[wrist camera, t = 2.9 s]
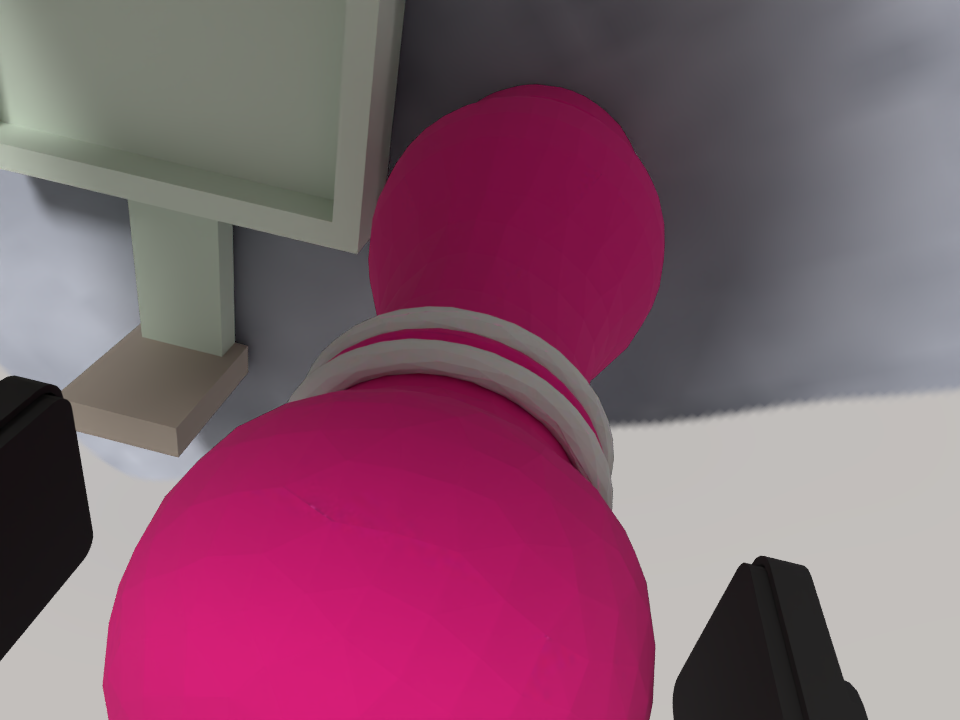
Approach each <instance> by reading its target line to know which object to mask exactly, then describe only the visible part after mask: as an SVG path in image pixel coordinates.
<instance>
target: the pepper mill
mask: <svg viewBox="0 0 960 720" xmlns="http://www.w3.org/2000/svg"><path fill="white" fill-rule="evenodd" d="M664 248H665V236H664V220H663V215H662V210H661V206H660V201H659V197H658V194H657V192H656V189H655V187H654V184H653V182H652V180H651V178H650V176H649V174H648V172H647V170H646V169H645V167H644V166H643V164H642V162H641V161H640V159H639V158H638V156H637V155H636V154H635V152H634V150H633V147H632V145H631V143H630V141H629V140H628V138H627V136H626V135H625V133H624V131H623V130H622V128H621V126H620V125H619V124H618V123H617V122H616V121H615V120H614V119H613V118H612V117H611V116H610V115H609V114H608V113H607V112H606V111H605V110H604V109H602V108H601V107H600V106H599V105H597V104H596V103H594V102H593V101H591V100H590V99H588V98H587V97H585V96H583V95H581V94H578V93H576V92H574V91H571V90H568V89H564V88H561V87H554V86H546V85H539V84H533V85H521V86H515V87H512V88H508V89H504V90H501V91H498V92H495V93H492V94H490V95H488V96H486V97H485V98H483V99H481V100H480V101H478V102H476V103H473V104H469V105H466V106H464V107H462V108H460V109H458V110H456V111H453V112H451V113H449V114H447V115H445V116H443V117H442V118H440V119H439V120H437V121H436V122H435V123H433V124H432V125H430V126H429V127H427V128H426V129H425V130H424V131H423V132H422V133H421V134H420V135H419V136H418V137H417V138H416V139H415V140H414V141H413V142H412V143H411V144H410V145H409V146H408V147H407V149H406V150H405V152H404V153H403V154H402V156H401V157H400V159H399V160H398V162H397V163H396V165H395V166H394V168H393V170H392V172H391V174H390V176H389V178H388V180H387V182H386V184H385V186H384V188H383V190H382V192H381V194H380V196H379V198H378V201H377V205H376V208H375V212H374V215H373V219H372V227H371V237H370V247H369V258H368V261H369V278H370V284H371V289H372V293H373V298H374V303H375V308H376V314H377V316H376V317H373V318H371V319H368V320H366V321H364V322H361V323H359V324H357V325H355V326H354V327H352V328H351V329H349V330H348V331H346V332H345V333H344V334H342V335H341V336H339V337H338V338H337V339H336V340H334V341H333V342H332V343H331V344H330V345H329V346H328V347H327V348H325V349H324V350H323V351H322V353H321V354H320V355H319V357H318V358H317V359H316V361H315V362H314V363H313V365H312V367H311V369H310V370H309V372H308V374H307V376H306V378H305V380H304V381H303V382H302V383H301V384H300V386H299V387H298V388H297V389H296V390H295V391H294V393H293V394H292V396H291V397H290V399H289V401H288V403H286V404H284V405H282V406H280V407H278V408H276V409H274V410H272V411H270V412H267V413H265V414H263V415H261V416H259V417H257V418H255V419H253V420H251V421H249V422H247V423H245V424H242V425H240V426H238V427H237V428H235V429H234V430H233V431H232V432H231V433H230V434H229V435H227V436H226V437H225V438H224V439H223V440H222V441H220V442H219V443H218V444H217V445H216V446H215V447H213V448H212V449H211V450H210V451H209V452H208V453H207V454H205V455H204V456H203V457H202V458H201V459H200V460H198V462H197V463H196V464H195V465H194V466H193V467H192V468H191V469H190V470H189V471H188V472H187V473H186V475H185V476H184V477H183V478H182V479H181V480H180V481H179V482H178V483H177V484H176V485H175V486H174V488H173V489H172V490H171V491H170V492H169V493H168V494H167V495H166V496H165V498H164V499H163V501H162V503H161V504H160V506H159V508H158V510H157V512H156V513H155V515H154V517H153V518H152V520H151V522H150V524H149V525H148V527H147V529H146V531H145V532H144V534H143V536H142V537H141V539H140V541H139V543H138V544H137V546H136V548H135V550H134V552H133V554H132V557H131V559H130V562H129V564H128V566H127V568H126V570H125V573H124V575H123V577H122V579H121V582H120V584H119V587H118V591H117V595H116V598H115V602H114V606H113V610H112V613H111V617H110V622H109V627H108V638H107V648H106V658H105V667H104V677H103V691H104V696H105V702H106V706H107V713H108V718H109V720H649V719H650V714H651V709H652V703H653V686H654V665H655V640H654V633H653V626H652V619H651V612H650V604H649V597H648V590H647V583H646V580H645V577H644V575H643V572H642V569H641V567H640V564H639V562H638V559H637V557H636V554H635V551H634V549H633V547H632V545H631V542H630V540H629V538H628V536H627V534H626V531H625V530H624V528H623V527H622V525H621V524H620V522H619V521H618V520H617V518H616V516H615V515H614V514H613V512H612V497H613V489H612V483H611V474H612V468H613V461H614V454H613V438H612V434H611V429H610V425H609V421H608V418H607V416H606V414H605V412H604V409H603V407H602V405H601V403H600V400H599V398H598V396H597V395H596V393H595V392H594V390H593V389H592V388H591V386H590V381H591V380H592V379H593V378H595V377H596V376H597V375H598V374H599V373H600V372H601V371H602V370H603V369H605V368H606V367H607V366H608V365H609V364H610V363H611V362H612V361H613V360H614V359H615V358H617V357H618V356H619V355H620V354H621V353H622V352H623V351H624V350H625V349H626V348H627V347H628V346H629V344H630V343H631V341H632V340H633V338H634V336H635V335H636V333H637V332H638V330H639V329H640V327H641V326H642V324H643V322H644V321H645V319H646V317H647V315H648V314H649V312H650V310H651V308H652V306H653V303H654V301H655V298H656V295H657V292H658V289H659V286H660V280H661V274H662V267H663V261H664Z"/></svg>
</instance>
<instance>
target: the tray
mask: <svg viewBox="0 0 960 720" xmlns="http://www.w3.org/2000/svg"><path fill="white" fill-rule="evenodd" d="M405 1H406V0H0V169H3V170H8V171H12V172H16V173H20V174H24V175H28V176H33V177H37V178H41V179H45V180H49V181H53V182H58V183H62V184H66V185H70V186H74V187H78V188H83V189H87V190H91V191H95V192H99V193H104V194H108V195H112V196H116V197H120V198H124V199H128V209H129V218H130V227H131V237H132V246H133V256H134V265H135V274H136V284H137V293H138V303H139V312H140V322H141V324H140V325H138V326H137V327H136V328H135V329H134V330H132V331H131V332H130V333H129V334H128V335H127V336H125V337H124V338H123V339H122V340H121V341H120V342H118V343H117V344H116V345H115V346H114V347H112V348H111V349H110V350H109V351H108V352H107V353H105V354H104V355H103V356H102V357H101V358H99V359H98V360H97V361H96V362H95V363H94V364H92V365H91V366H90V367H89V368H88V369H87V370H85V371H84V372H83V373H82V374H81V375H79V376H78V377H77V378H76V379H75V380H74V381H72V382H71V383H70V384H69V385H68V386H67V387H65V388H64V389H63V390H62V391H61V392H62V395H63V398H64V399H67V400H68V401H69V402H70V403H71V406H72V410H73V416H74V422H75V428H76V431H78V432H82V433H86V434H90V435H94V436H98V437H101V438H105V439H109V440H113V441H117V442H121V443H125V444H129V445H132V446H136V447H140V448H144V449H148V450H152V451H156V452H160V453H164V454H167V455H171V456H175V457H179V456H180V455H181V454H182V452H183V451H184V450H185V449H186V448H187V446H188V445H189V444H190V443H191V441H192V440H193V439H194V438H195V437H196V435H197V434H198V433H199V432H200V431H201V429H202V428H203V427H204V426H205V424H206V423H207V422H208V421H209V420H210V418H211V417H212V416H213V415H214V413H215V412H216V411H217V410H218V409H219V407H220V406H221V405H222V404H223V402H224V401H225V400H226V399H227V398H228V396H229V395H230V394H231V393H232V391H233V390H234V389H235V388H236V387H237V385H238V384H239V383H240V382H241V381H242V379H243V378H244V377H245V376H246V374H247V373H248V346H247V345H243V344H239V343H235V317H234V268H233V225H237V226H241V227H245V228H249V229H254V230H258V231H262V232H266V233H270V234H274V235H279V236H283V237H287V238H291V239H295V240H300V241H304V242H308V243H312V244H316V245H320V246H325V247H329V248H333V249H337V250H341V251H345V252H350V253H354V254H358V253H359V252H360V250H361V249H362V248H363V247H364V245H365V244H366V243H367V242H368V240H369V239H370V237H371V227H372V219H373V215H374V212H375V208H376V205H377V201H378V198H379V196H380V194H381V192H382V190H383V188H384V186H385V184H386V182H387V172H388V163H389V153H390V144H391V134H392V125H393V115H394V106H395V96H396V87H397V77H398V68H399V58H400V49H401V39H402V30H403V20H404V11H405Z"/></svg>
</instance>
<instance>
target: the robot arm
mask: <svg viewBox="0 0 960 720" xmlns="http://www.w3.org/2000/svg"><path fill="white" fill-rule="evenodd" d="M92 540H93V530H92V524H91V518H90V512H89V506H88V500H87V494H86V488H85V482H84V476H83V470H82V465H81V458H80V452H79V446H78V440H77V434H76V428H75V422H74V416H73V410H72V406H71V403H70V402H69V401H68V400H67V399H64V398H63V395H62V392H61V390H60V389H59V388H58V387H57V386H55V385H52V384H48V383H43V382H39V381H35V380H31V379H27V378H23V377H18V376H9V377H6V378H4V379H3V380H1V381H0V661H1V660H2V658H3V657H4V656H5V655H6V653H7V652H8V651H9V650H10V649H11V647H12V646H13V645H14V644H15V643H16V641H17V640H18V639H19V638H20V636H21V635H22V634H23V633H24V632H25V630H26V629H27V628H28V626H29V625H30V624H31V623H32V622H33V621H34V619H35V618H36V617H37V616H38V615H39V613H40V612H41V611H42V610H43V609H44V607H45V606H46V605H47V603H48V602H49V601H50V600H51V599H52V598H53V596H54V595H55V594H56V593H57V591H58V590H59V589H60V588H61V587H62V585H63V584H64V583H65V582H66V581H67V579H68V578H69V577H70V576H71V574H72V573H73V572H74V571H75V570H76V568H77V567H78V566H79V565H80V563H81V562H82V561H83V560H84V558H85V557H86V555H87V554H88V552H89V550H90V547H91V544H92ZM673 715H674V720H868V718H867V715H866V711H865V708H864V705H863V703H862V701H861V699H860V697H859V694H858V692H857V690H856V689H855V688H854V687H853V686H852V685H851V684H850V683H849V682H847V681H844V679H843V676H842V673H841V669H840V666H839V663H838V660H837V657H836V653H835V650H834V647H833V644H832V641H831V637H830V634H829V631H828V628H827V625H826V622H825V618H824V615H823V612H822V609H821V606H820V602H819V599H818V596H817V593H816V590H815V586H814V583H813V580H812V577H811V575H810V572H809V570H808V569H807V568H806V567H805V566H803V565H799V564H795V563H791V562H786V561H782V560H778V559H774V558H770V557H766V556H759V557H757V558H756V559H755V560H754V562H753V563H752V564H748V563H742V564H741V565H740V566H739V567H738V569H737V571H736V573H735V574H734V576H733V578H732V580H731V582H730V584H729V585H728V587H727V589H726V591H725V593H724V594H723V596H722V598H721V600H720V601H719V603H718V605H717V607H716V609H715V611H714V612H713V614H712V616H711V618H710V620H709V621H708V623H707V625H706V627H705V629H704V630H703V632H702V634H701V636H700V638H699V640H698V641H697V643H696V645H695V647H694V648H693V650H692V652H691V654H690V656H689V658H688V659H687V661H686V663H685V665H684V667H683V668H682V670H681V672H680V674H679V676H678V678H677V680H676V683H675V686H674V693H673Z"/></svg>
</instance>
